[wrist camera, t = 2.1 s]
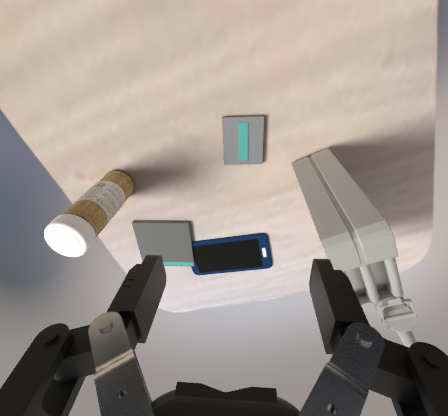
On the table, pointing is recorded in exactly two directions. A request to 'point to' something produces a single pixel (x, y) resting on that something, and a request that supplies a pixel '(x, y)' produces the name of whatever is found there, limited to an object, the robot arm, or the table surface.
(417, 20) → the table surface
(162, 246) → the mat
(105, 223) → the sprinkles bottle
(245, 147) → the label tag
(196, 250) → the cell phone
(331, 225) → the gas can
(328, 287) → the robot arm
